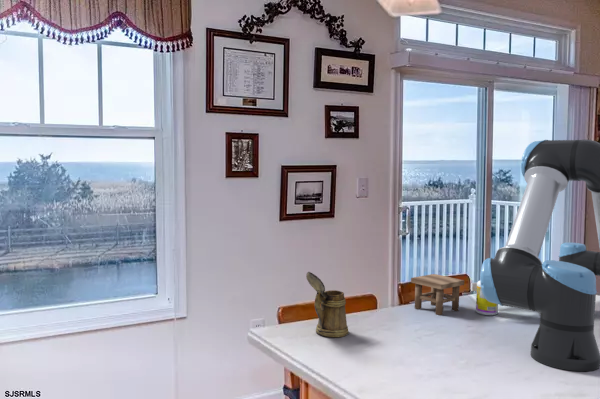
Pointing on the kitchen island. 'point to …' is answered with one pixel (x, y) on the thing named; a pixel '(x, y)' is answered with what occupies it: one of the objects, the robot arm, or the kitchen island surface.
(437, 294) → the stool
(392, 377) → the kitchen island surface
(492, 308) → the supplement bottle
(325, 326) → the wooden mug
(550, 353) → the robot arm
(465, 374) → the kitchen island surface
